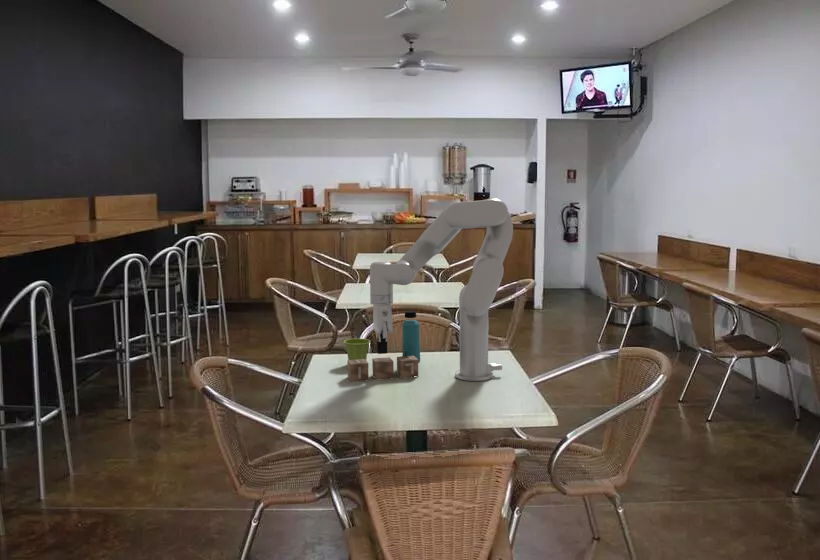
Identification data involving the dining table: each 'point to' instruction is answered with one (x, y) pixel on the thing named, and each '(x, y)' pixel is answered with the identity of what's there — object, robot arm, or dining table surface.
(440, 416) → the dining table surface
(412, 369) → the block seven
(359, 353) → the plant pot
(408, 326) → the beverage bottle
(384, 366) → the plain block
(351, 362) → the block one
